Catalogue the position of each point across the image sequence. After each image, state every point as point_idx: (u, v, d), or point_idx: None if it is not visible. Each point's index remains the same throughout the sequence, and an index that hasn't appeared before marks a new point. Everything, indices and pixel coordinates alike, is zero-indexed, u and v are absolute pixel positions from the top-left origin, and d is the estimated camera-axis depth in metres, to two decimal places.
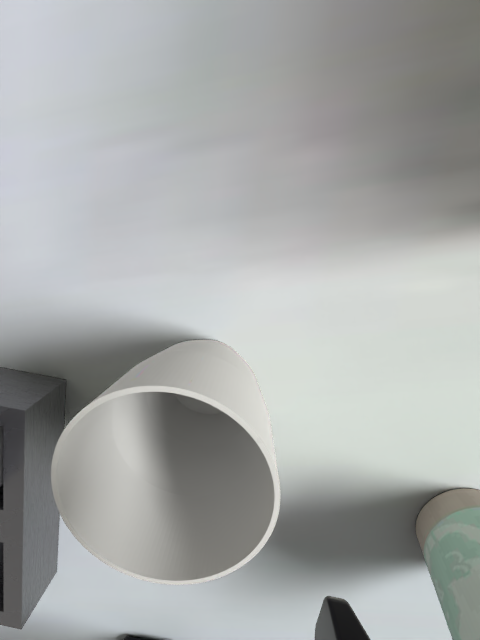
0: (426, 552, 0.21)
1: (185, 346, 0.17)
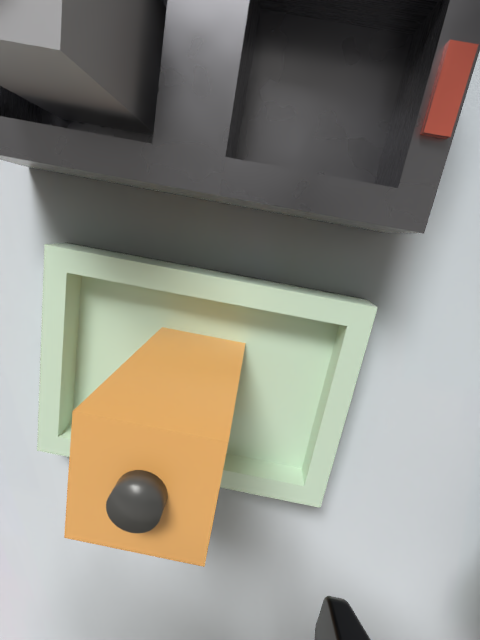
0: None
1: None
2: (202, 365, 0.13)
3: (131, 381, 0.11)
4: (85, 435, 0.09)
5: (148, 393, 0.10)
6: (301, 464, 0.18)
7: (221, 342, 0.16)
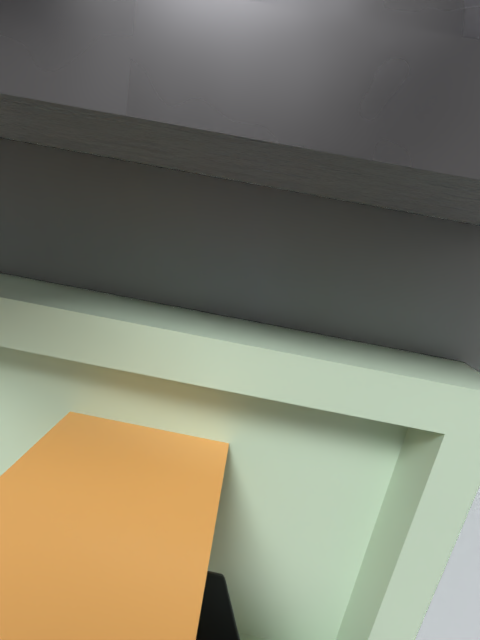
0: None
1: None
2: (109, 565, 0.05)
3: None
4: None
5: None
6: None
7: (180, 447, 0.08)
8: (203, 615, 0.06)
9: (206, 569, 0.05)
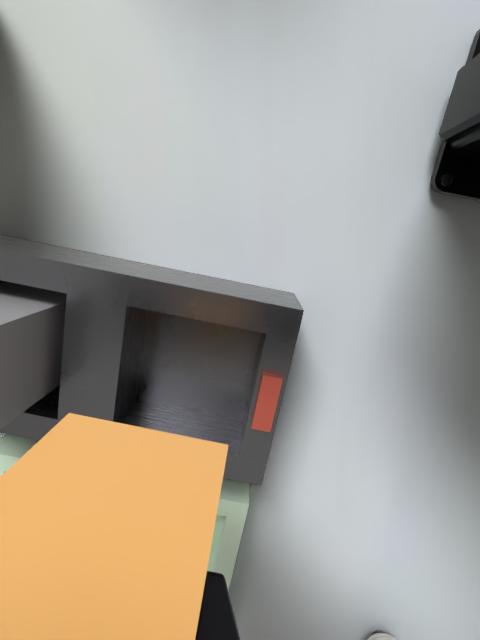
0: None
1: None
2: (107, 568, 0.05)
3: None
4: None
5: None
6: None
7: (179, 448, 0.08)
8: (203, 615, 0.06)
9: (205, 572, 0.05)
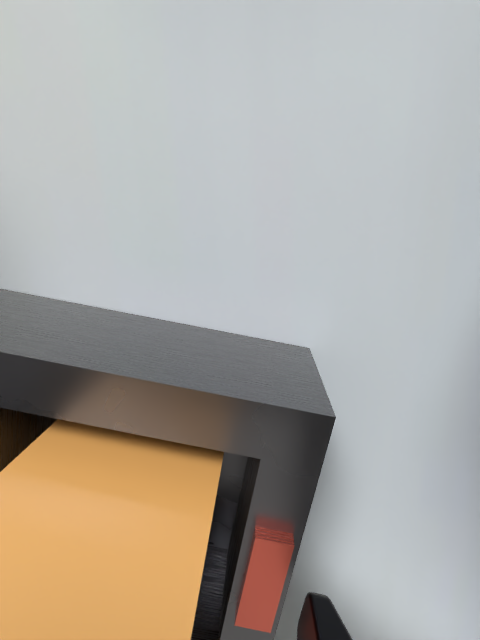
0: None
1: None
2: (139, 492, 0.07)
3: None
4: None
5: None
6: None
7: None
8: None
9: (215, 497, 0.07)
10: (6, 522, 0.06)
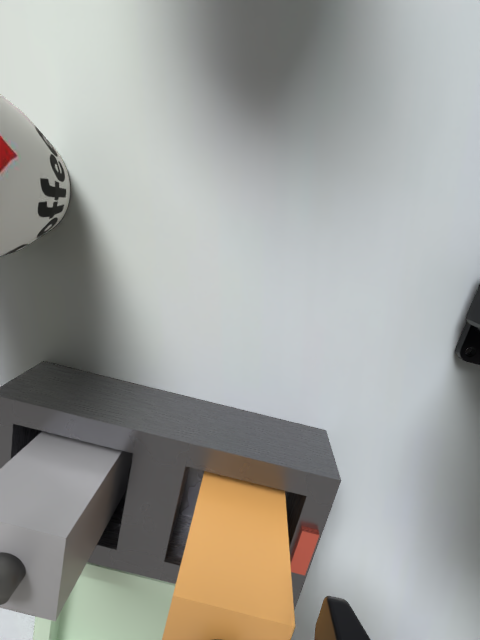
0: None
1: None
2: (255, 509, 0.15)
3: (205, 542, 0.13)
4: (181, 612, 0.11)
5: (222, 560, 0.13)
6: None
7: None
8: None
9: (286, 512, 0.16)
10: (212, 519, 0.14)
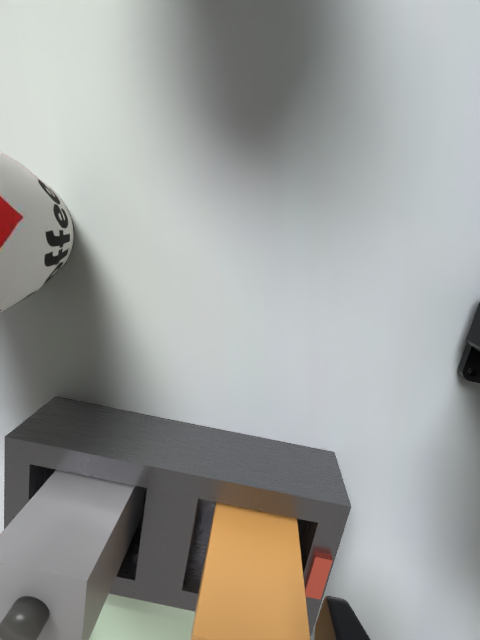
0: None
1: None
2: (268, 538, 0.16)
3: (221, 577, 0.14)
4: None
5: (238, 595, 0.13)
6: None
7: None
8: None
9: None
10: (227, 552, 0.15)
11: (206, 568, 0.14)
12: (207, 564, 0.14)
